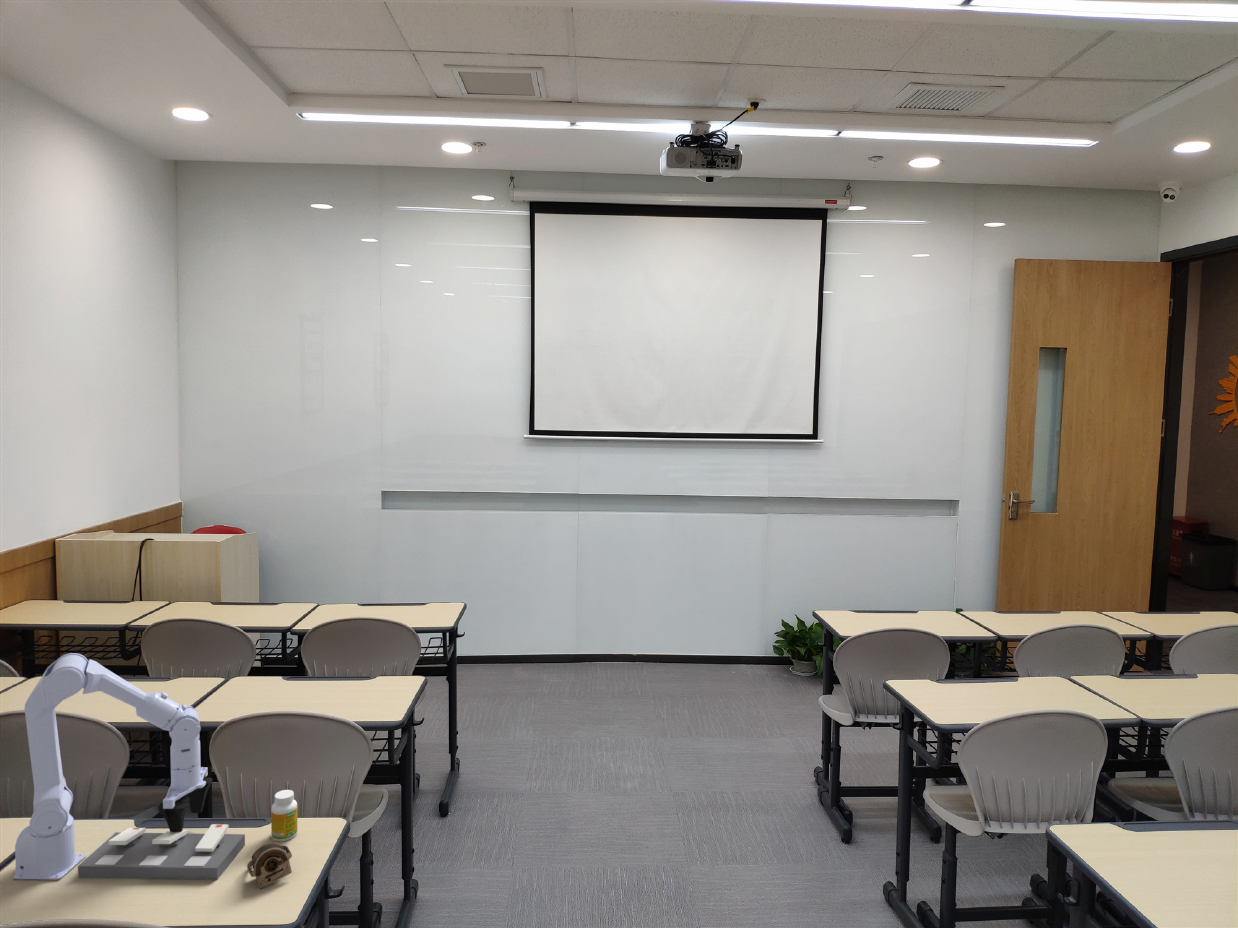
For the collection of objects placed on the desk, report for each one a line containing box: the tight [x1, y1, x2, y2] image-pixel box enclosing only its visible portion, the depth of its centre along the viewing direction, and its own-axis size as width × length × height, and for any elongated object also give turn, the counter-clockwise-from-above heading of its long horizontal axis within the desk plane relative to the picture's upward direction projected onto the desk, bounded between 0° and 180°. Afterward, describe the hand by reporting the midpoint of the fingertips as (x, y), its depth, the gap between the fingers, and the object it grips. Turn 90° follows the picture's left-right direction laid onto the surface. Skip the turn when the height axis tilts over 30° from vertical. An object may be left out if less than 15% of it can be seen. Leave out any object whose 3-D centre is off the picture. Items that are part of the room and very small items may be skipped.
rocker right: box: [195, 823, 230, 852], centre depth 162 cm, size 4×7×1 cm, turn 2°
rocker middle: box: [152, 829, 188, 844], centre depth 162 cm, size 4×7×1 cm, turn 1°
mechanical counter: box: [246, 842, 293, 890], centre depth 157 cm, size 7×13×10 cm
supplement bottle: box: [270, 789, 298, 842], centre depth 170 cm, size 5×5×10 cm
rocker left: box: [108, 827, 147, 845], centre depth 161 cm, size 4×7×1 cm, turn 1°
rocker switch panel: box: [77, 831, 246, 881], centre depth 160 cm, size 28×12×3 cm, turn 92°
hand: (186, 822), depth 168 cm, fingers open, 7 cm apart
